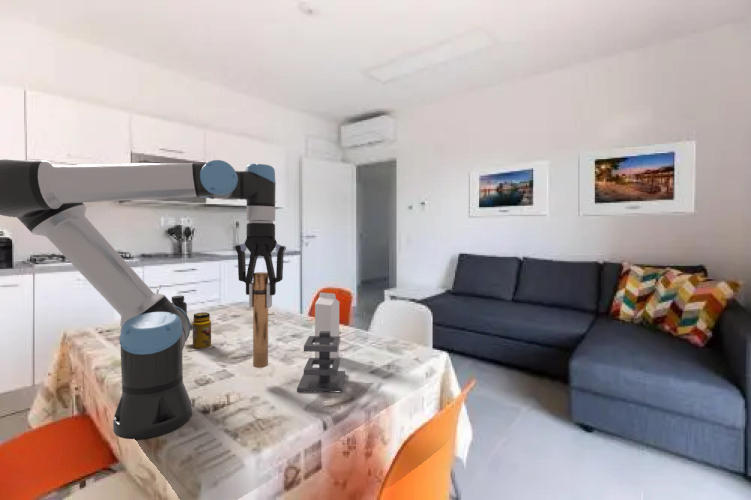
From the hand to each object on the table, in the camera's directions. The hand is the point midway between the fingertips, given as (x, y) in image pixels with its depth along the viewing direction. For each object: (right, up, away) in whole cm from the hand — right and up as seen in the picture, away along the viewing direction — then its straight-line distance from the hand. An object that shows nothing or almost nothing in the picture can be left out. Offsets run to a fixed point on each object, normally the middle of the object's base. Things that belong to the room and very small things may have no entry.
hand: (260, 306), depth 103 cm
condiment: (-31, -19, +30) cm, 48 cm away
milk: (+16, -21, +21) cm, 33 cm away
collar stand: (+17, -22, +2) cm, 28 cm away
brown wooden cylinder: (0, -17, +1) cm, 17 cm away
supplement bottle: (-55, -17, +60) cm, 83 cm away
